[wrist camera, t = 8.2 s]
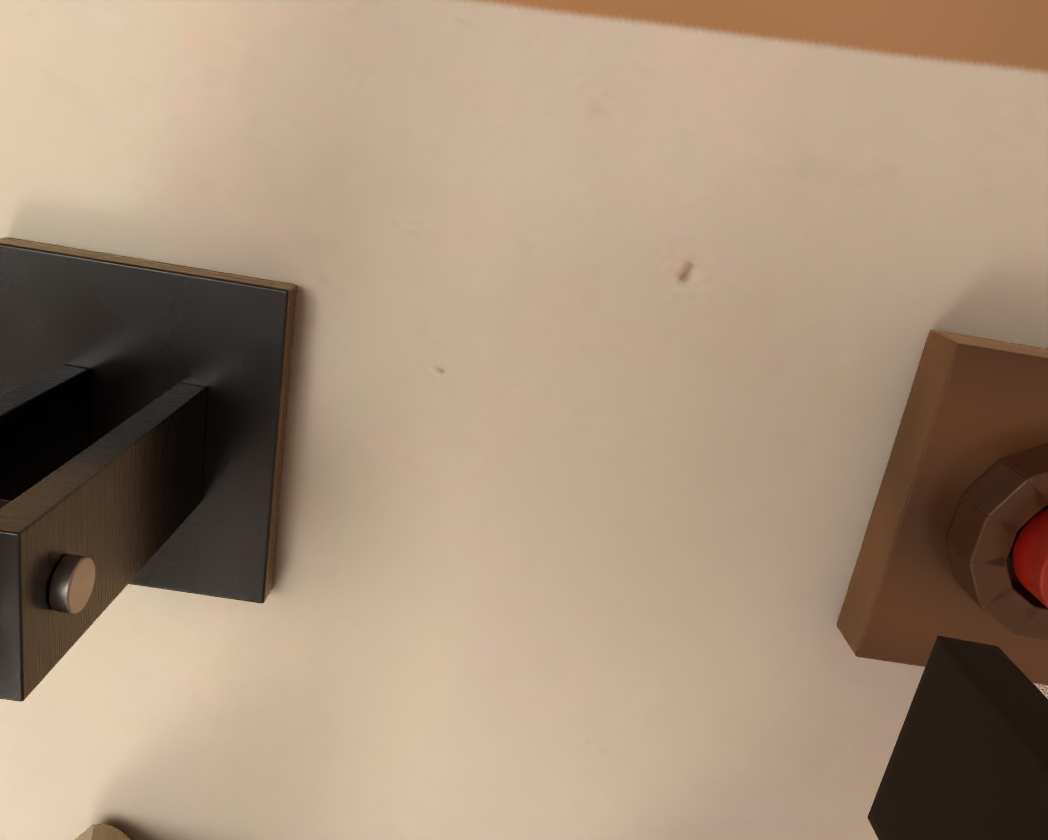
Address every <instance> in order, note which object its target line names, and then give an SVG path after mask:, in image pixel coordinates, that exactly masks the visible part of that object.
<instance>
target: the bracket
mask: <svg viewBox="0 0 1048 840" xmlns="http://www.w3.org/2000/svg"><path fill="white" fill-rule="evenodd" d="M296 294H297V286H296V285H295V284H289V283H283V282H277V281H270V280H264V279H258V278H252V277H246V276H240V275H234V274H227V273H221V272H215V271H209V270H203V269H197V268H191V267H185V266H178V265H172V264H166V263H160V262H154V261H148V260H142V259H135V258H129V257H123V256H117V255H111V254H105V253H99V252H93V251H86V250H80V249H74V248H68V247H62V246H56V245H50V244H43V243H37V242H31V241H25V240H19V239H13V238H7V237H6V238H1V239H0V499H4V500H10V501H11V502H10V503H8V504H7V505H5V506H4V507H3V508H1V509H0V699H7V700H14V701H24V700H25V698H26V697H27V696H28V695H29V694H30V693H31V692H32V691H33V689H34V688H35V687H36V686H37V685H38V684H39V683H40V682H41V681H42V679H43V678H44V677H45V676H46V675H47V674H48V673H49V672H50V671H51V669H52V668H53V667H54V666H55V665H56V664H57V663H58V662H59V660H60V659H61V658H62V657H63V656H64V655H65V654H66V653H67V652H68V650H69V649H70V648H71V647H72V646H73V645H74V644H75V643H76V641H77V640H78V639H79V638H80V637H81V636H82V635H83V634H84V633H85V631H86V630H87V629H88V628H89V627H90V626H91V625H92V624H93V623H94V621H95V620H96V619H97V618H98V617H99V616H100V615H101V614H102V612H103V611H104V610H105V609H106V608H107V607H108V606H109V605H110V604H111V602H112V601H113V600H114V599H115V598H116V597H117V596H118V595H119V593H120V592H121V591H122V590H123V589H124V588H125V587H126V586H127V585H128V584H133V585H140V586H147V587H154V588H161V589H168V590H174V591H181V592H188V593H195V594H202V595H209V596H215V597H222V598H229V599H236V600H243V601H250V602H256V603H264V601H265V600H266V598H267V596H268V594H269V593H270V591H271V589H272V585H273V573H274V561H275V549H276V537H277V525H278V512H279V500H280V488H281V476H282V464H283V452H284V440H285V427H286V415H287V403H288V391H289V379H290V367H291V354H292V342H293V330H294V318H295V306H296Z"/></svg>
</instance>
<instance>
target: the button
mask: <svg viewBox="0 0 1048 840" xmlns="http://www.w3.org/2000/svg"><path fill="white" fill-rule="evenodd" d="M1013 568H1014V571H1015V574H1016V576H1017V578H1018V580H1019V581H1020V583H1021V584H1022V585H1023V586H1024V587H1025V588H1026V589H1027V590H1028V591H1029V592H1030V593H1031V594H1033V595H1034V596H1035V597H1036V598H1037V599H1038V600H1039V601H1040V602H1041V603H1042V604H1044V605H1045V606H1046V607H1047V608H1048V509H1046V510H1044V511H1042V512H1041V513H1039V514H1038V515H1036V516H1035V517H1034V518H1033V519H1031V520H1030V521H1029V522H1028V524H1027V525H1026V526H1025V527H1024V528H1023V530H1022V531H1021V533H1020V534H1019V536H1018V538H1017V540H1016V542H1015V546H1014V549H1013Z"/></svg>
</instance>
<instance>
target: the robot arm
mask: <svg viewBox="0 0 1048 840" xmlns="http://www.w3.org/2000/svg"><path fill="white" fill-rule="evenodd" d="M868 819H869V821H870V823H871V825H872V827H873V829H874V831H875V833H876V835H877V837H878V839H879V840H1048V699H1047V698H1046V697H1045V696H1044V695H1043V694H1042V693H1041V691H1040V690H1039V689H1038V688H1037V687H1036V686H1035V685H1034V684H1033V683H1032V682H1031V681H1030V680H1029V679H1028V678H1027V677H1026V676H1025V674H1024V673H1023V672H1022V671H1021V670H1020V669H1019V668H1018V667H1017V666H1016V665H1015V664H1014V663H1013V662H1012V661H1011V660H1010V658H1009V657H1008V656H1007V655H1006V654H1005V653H1004V652H1003V651H1002V650H1001V649H1000V648H999V647H998V646H995V645H989V644H983V643H978V642H972V641H966V640H961V639H955V638H949V637H944V636H937V638H936V641H935V644H934V646H933V649H932V651H931V654H930V657H929V659H928V662H927V664H926V667H925V670H924V672H923V675H922V677H921V680H920V682H919V685H918V688H917V690H916V693H915V695H914V698H913V701H912V703H911V706H910V708H909V711H908V714H907V716H906V719H905V721H904V724H903V727H902V729H901V732H900V734H899V737H898V740H897V742H896V745H895V747H894V750H893V752H892V755H891V758H890V760H889V763H888V765H887V768H886V771H885V773H884V776H883V778H882V781H881V784H880V786H879V789H878V791H877V794H876V797H875V799H874V802H873V804H872V807H871V810H870V812H869V815H868Z"/></svg>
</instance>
